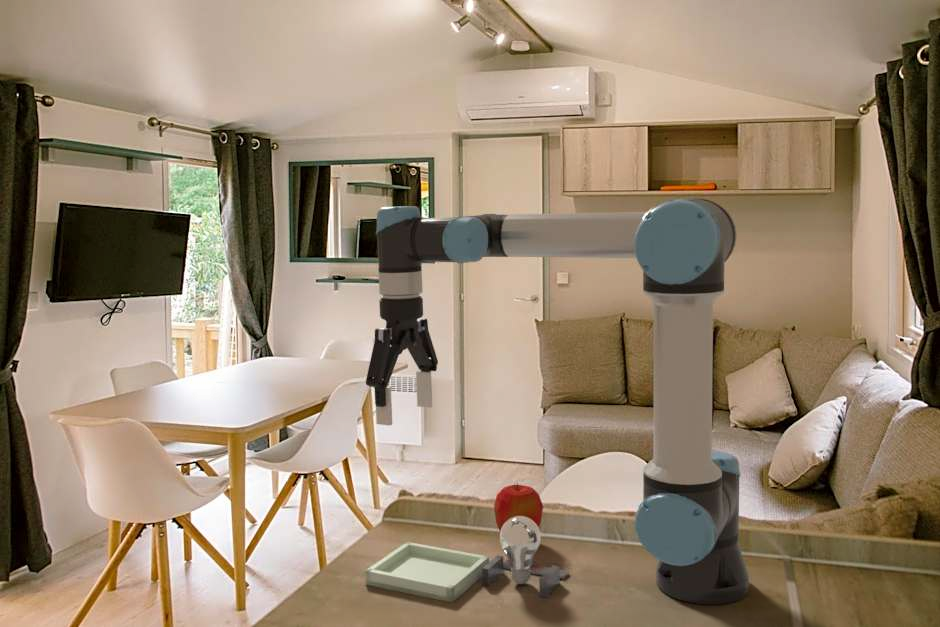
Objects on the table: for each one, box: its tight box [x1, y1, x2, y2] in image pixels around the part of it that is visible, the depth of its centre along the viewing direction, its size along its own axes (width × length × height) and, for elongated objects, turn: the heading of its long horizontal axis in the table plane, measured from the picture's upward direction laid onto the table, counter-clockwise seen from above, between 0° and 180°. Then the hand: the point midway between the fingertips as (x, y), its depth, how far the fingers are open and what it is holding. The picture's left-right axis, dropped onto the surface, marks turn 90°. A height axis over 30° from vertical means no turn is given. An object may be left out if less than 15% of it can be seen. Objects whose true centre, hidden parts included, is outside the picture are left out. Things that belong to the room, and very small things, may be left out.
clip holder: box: [481, 555, 570, 598], centre depth 153 cm, size 12×10×3 cm
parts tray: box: [364, 541, 490, 604], centre depth 155 cm, size 17×14×2 cm
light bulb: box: [499, 516, 541, 586], centre depth 151 cm, size 7×7×12 cm
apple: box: [493, 482, 544, 532], centre depth 169 cm, size 9×9×12 cm
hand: (405, 415), depth 156 cm, fingers open, 13 cm apart
